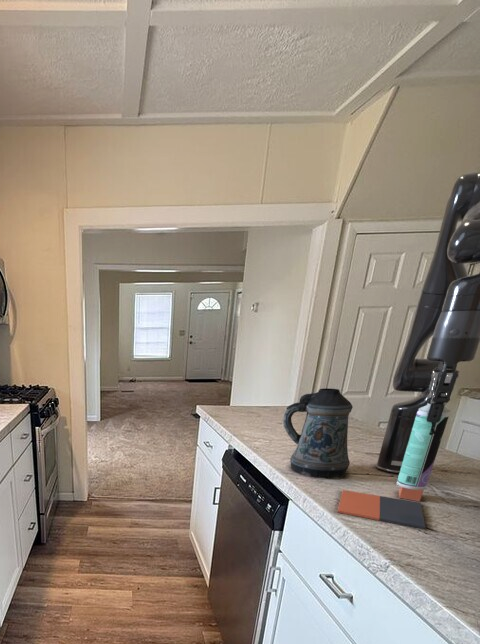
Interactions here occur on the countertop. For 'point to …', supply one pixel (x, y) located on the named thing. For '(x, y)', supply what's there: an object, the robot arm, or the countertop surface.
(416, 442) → the spray can
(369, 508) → the sorting mat
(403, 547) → the countertop surface
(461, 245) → the robot arm
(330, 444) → the beer stein
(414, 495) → the terracotta block
